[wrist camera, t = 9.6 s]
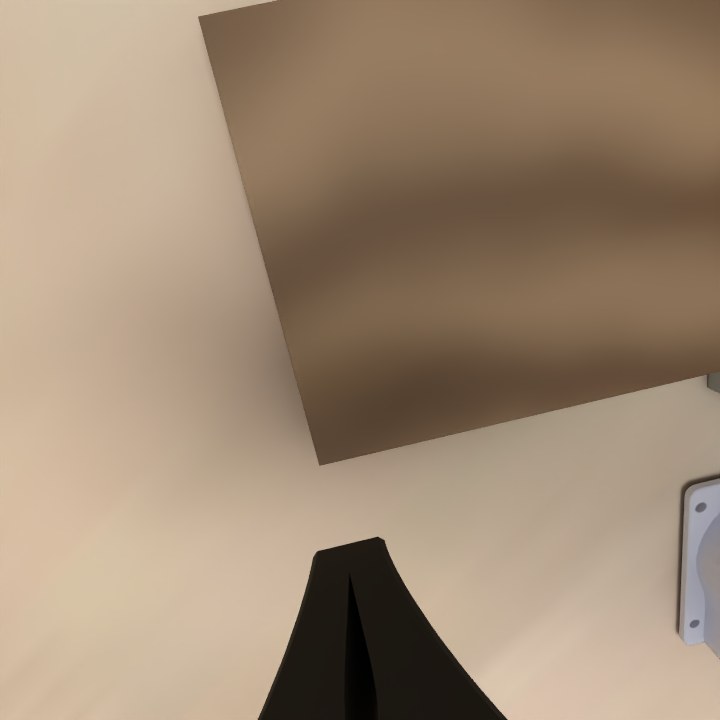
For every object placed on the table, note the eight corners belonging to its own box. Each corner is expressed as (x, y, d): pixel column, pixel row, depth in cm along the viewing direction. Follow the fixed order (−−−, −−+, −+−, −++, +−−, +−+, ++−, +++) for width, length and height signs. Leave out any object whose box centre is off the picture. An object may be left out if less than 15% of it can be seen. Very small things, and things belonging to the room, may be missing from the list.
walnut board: (709, 353, 20) (740, 366, 18) (318, 444, 19) (319, 465, 18) (732, -75, 15) (777, -102, 13) (208, 33, 14) (198, 16, 13)
